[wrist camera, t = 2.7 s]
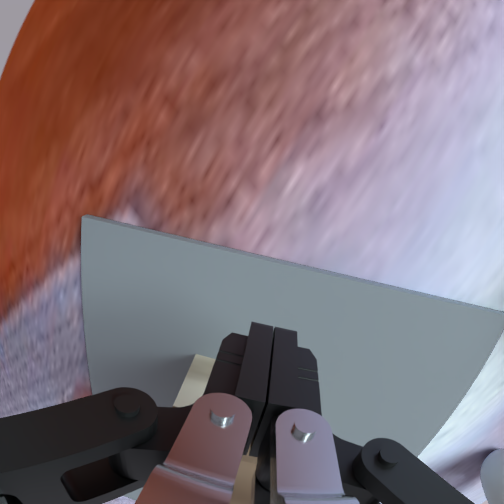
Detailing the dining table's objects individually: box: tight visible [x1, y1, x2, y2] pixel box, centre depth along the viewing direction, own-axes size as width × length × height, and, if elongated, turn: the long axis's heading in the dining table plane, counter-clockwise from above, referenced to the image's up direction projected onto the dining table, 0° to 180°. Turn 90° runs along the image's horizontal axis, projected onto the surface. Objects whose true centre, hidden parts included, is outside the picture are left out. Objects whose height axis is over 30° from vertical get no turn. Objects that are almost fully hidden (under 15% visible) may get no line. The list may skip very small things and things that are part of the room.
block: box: [173, 354, 258, 504], centre depth 14 cm, size 6×6×6 cm
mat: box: [81, 214, 504, 500], centre depth 19 cm, size 30×24×1 cm
